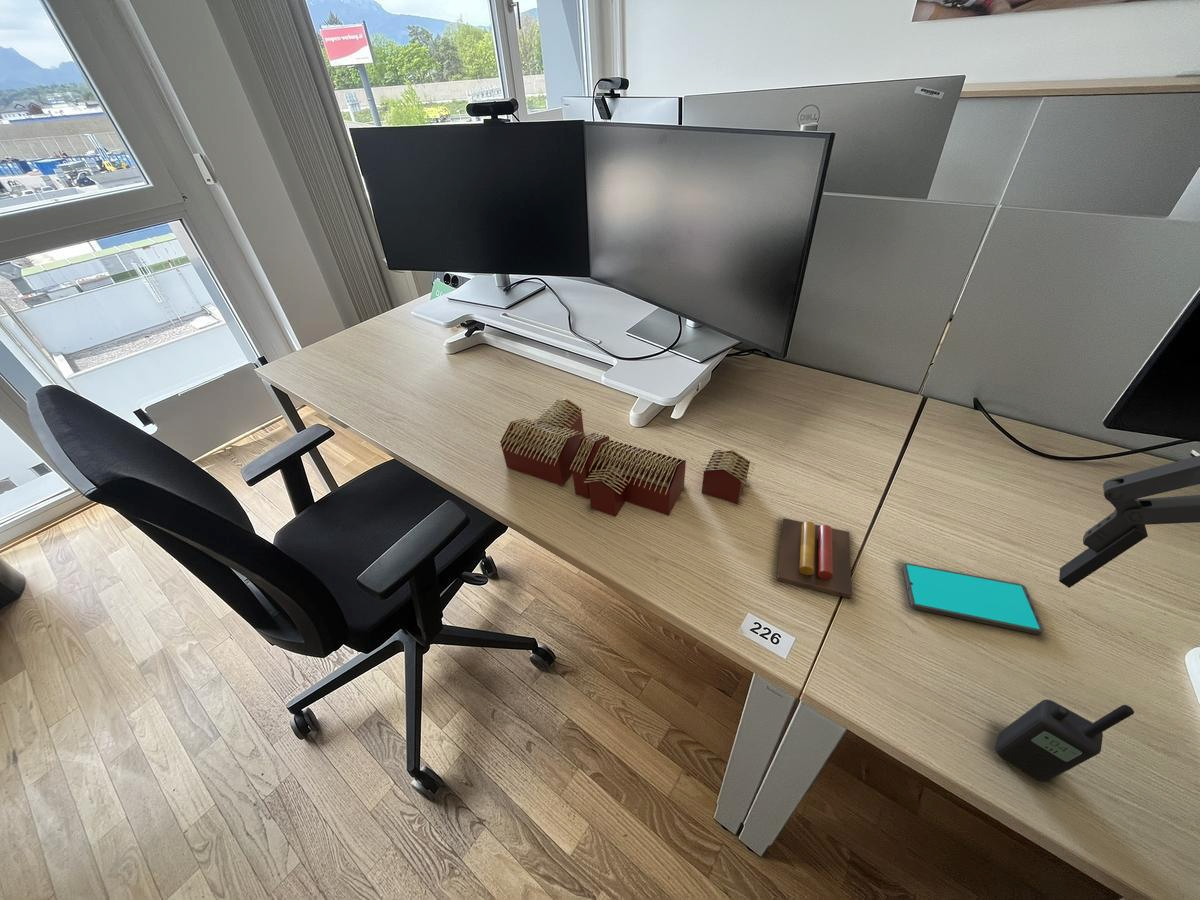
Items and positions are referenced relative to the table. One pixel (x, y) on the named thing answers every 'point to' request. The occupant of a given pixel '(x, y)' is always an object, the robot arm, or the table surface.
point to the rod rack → (815, 557)
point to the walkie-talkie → (1054, 739)
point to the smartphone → (971, 598)
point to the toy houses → (611, 463)
